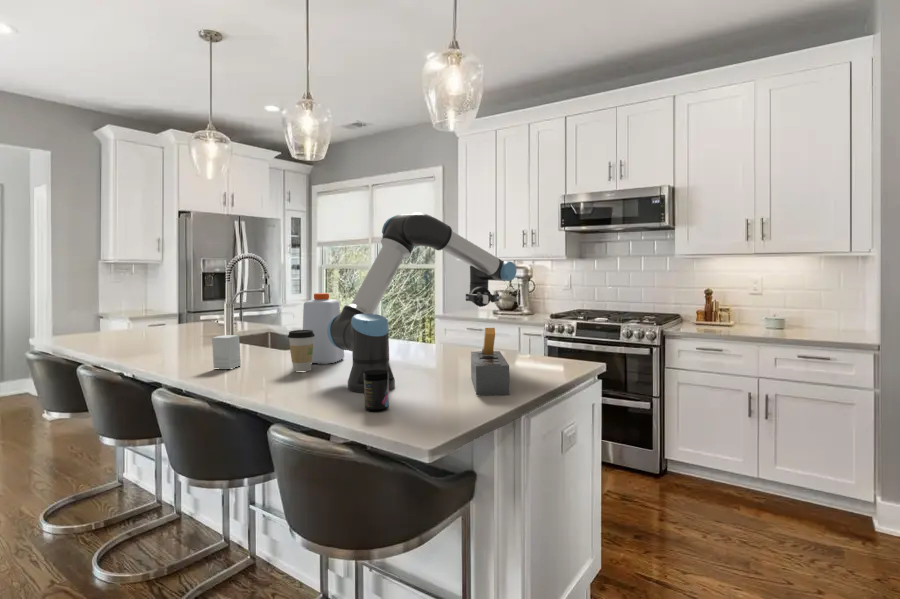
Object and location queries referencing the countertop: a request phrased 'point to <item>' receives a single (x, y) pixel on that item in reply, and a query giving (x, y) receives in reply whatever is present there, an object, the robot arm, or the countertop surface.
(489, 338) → the lever
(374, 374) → the supplement container
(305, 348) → the coffee cup
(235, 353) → the supplement box
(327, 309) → the plastic bottle
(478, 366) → the dark gray slotted block
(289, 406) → the countertop surface
